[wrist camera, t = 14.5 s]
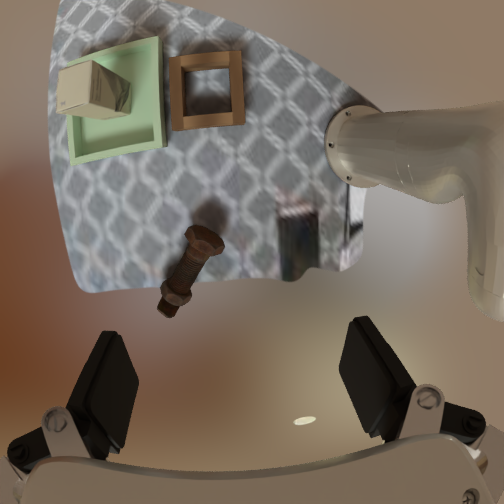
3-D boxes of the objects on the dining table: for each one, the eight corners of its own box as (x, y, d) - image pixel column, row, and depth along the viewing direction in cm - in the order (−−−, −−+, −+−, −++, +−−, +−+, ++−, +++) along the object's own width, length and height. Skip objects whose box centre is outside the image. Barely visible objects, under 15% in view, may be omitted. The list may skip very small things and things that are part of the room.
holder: (239, 58, 30) (241, 50, 27) (243, 124, 34) (245, 123, 31) (173, 64, 29) (168, 57, 26) (176, 131, 33) (172, 130, 30)
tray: (162, 42, 28) (158, 35, 25) (167, 146, 34) (162, 147, 31) (76, 66, 27) (67, 62, 24) (80, 163, 33) (70, 166, 30)
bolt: (165, 297, 45) (205, 223, 40) (186, 316, 44) (231, 243, 39) (143, 306, 40) (183, 225, 35) (165, 328, 39) (211, 248, 34)
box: (131, 115, 31) (89, 106, 19) (103, 120, 31) (54, 116, 19) (132, 80, 29) (92, 57, 17) (103, 86, 29) (57, 69, 17)
